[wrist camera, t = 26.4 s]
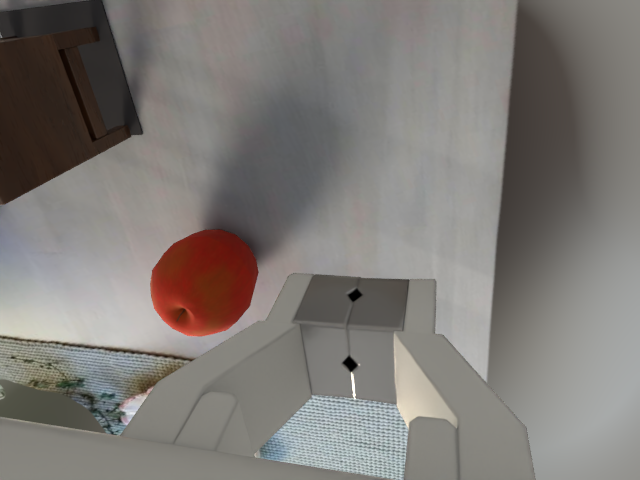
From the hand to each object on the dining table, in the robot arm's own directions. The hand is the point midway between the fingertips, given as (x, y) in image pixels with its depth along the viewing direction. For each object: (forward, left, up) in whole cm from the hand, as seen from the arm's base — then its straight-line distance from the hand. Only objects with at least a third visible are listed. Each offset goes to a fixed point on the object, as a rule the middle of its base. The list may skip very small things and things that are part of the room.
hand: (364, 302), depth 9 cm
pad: (+19, -27, -31) cm, 46 cm away
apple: (+28, -6, -31) cm, 42 cm away
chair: (+20, -27, -31) cm, 45 cm away
